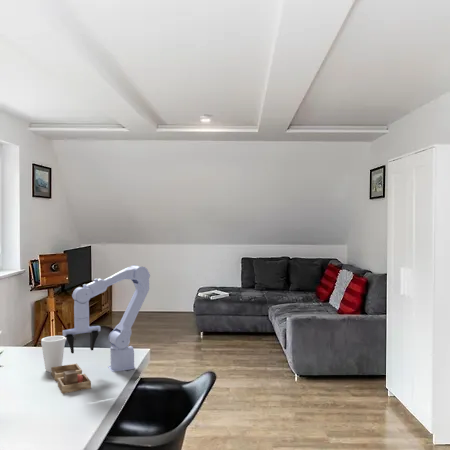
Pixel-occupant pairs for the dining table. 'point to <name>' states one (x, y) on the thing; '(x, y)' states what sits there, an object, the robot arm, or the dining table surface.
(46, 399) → the dining table surface
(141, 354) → the dining table surface
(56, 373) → the box empty
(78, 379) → the red ball
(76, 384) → the box with ball
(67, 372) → the walnut block
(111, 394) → the dining table surface
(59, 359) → the foam cup
